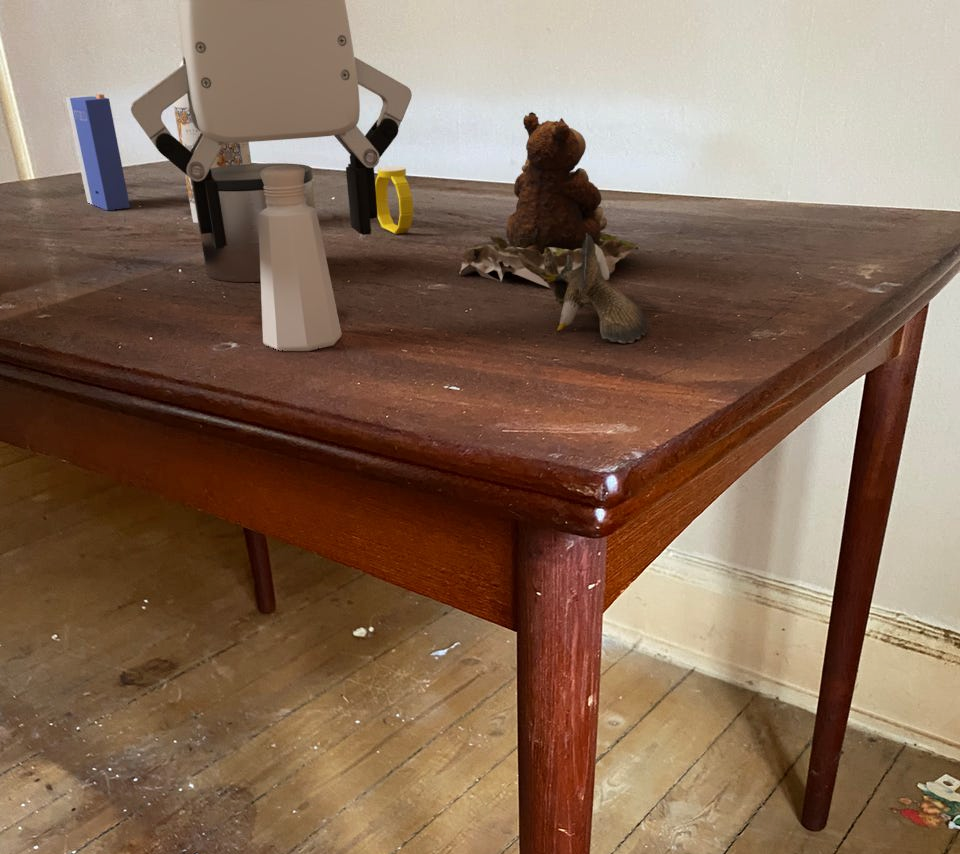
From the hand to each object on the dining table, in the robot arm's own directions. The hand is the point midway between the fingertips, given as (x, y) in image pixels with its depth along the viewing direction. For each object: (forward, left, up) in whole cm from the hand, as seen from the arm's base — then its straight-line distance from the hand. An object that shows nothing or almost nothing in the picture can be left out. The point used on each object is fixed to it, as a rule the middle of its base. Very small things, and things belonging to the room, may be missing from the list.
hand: (291, 237), depth 69 cm
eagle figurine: (+17, +10, -7) cm, 21 cm away
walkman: (-58, +41, -7) cm, 71 cm away
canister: (-17, +18, -7) cm, 26 cm away
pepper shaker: (0, 0, -7) cm, 7 cm away
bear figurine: (+7, +27, -7) cm, 29 cm away
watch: (-15, +37, -7) cm, 41 cm away
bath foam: (-35, +35, -7) cm, 50 cm away
